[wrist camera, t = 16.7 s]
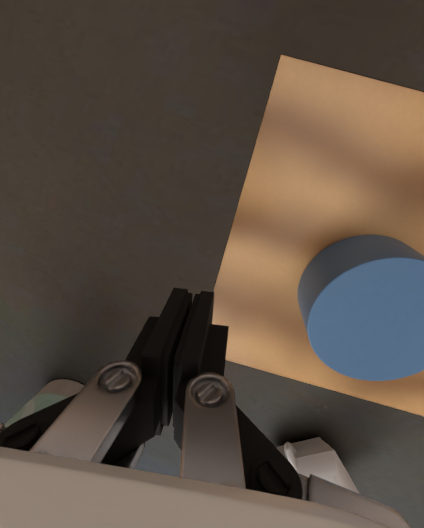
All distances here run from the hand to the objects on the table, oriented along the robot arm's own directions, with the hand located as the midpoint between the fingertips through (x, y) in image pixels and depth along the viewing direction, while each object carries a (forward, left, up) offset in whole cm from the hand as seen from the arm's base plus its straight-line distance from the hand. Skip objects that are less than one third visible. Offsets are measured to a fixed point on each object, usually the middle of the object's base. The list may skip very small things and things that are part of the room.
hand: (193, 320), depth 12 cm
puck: (0, +10, -8) cm, 13 cm away
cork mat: (-1, +11, -8) cm, 13 cm away
